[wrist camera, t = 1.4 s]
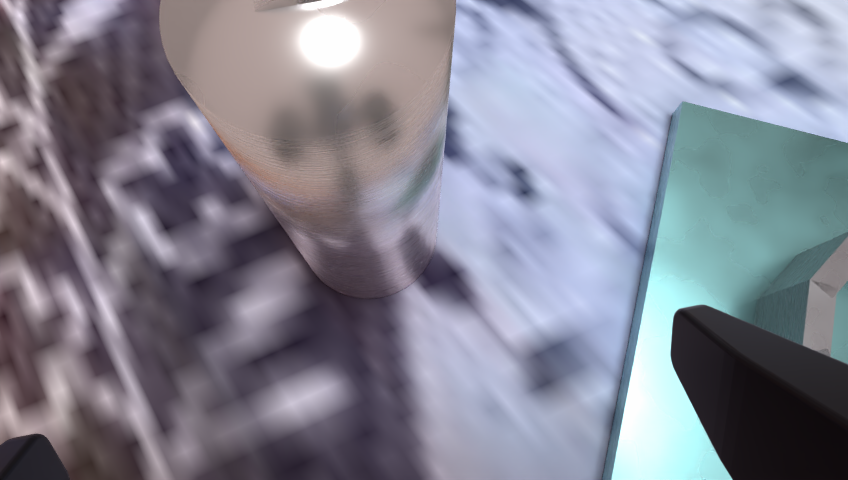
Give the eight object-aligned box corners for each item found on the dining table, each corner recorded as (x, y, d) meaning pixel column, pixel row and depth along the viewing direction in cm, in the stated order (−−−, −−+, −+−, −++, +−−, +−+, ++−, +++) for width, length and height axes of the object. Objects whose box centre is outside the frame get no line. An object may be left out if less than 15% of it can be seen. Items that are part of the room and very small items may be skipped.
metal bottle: (449, 284, 22) (485, 102, 10) (311, 310, 22) (165, 157, 9) (411, 102, 24) (400, -243, 12) (285, 124, 24) (137, -207, 12)
